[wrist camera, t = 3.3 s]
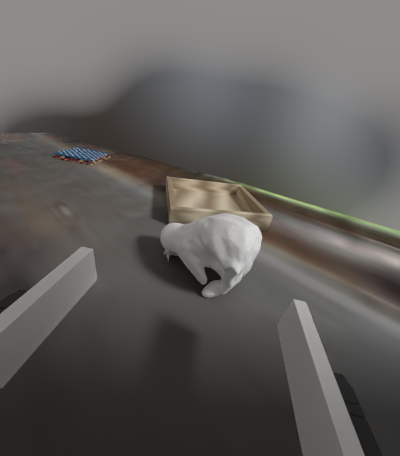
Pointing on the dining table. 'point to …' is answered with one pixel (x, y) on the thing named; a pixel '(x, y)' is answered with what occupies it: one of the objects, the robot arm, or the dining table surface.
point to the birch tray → (212, 202)
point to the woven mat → (82, 156)
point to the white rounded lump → (214, 248)
